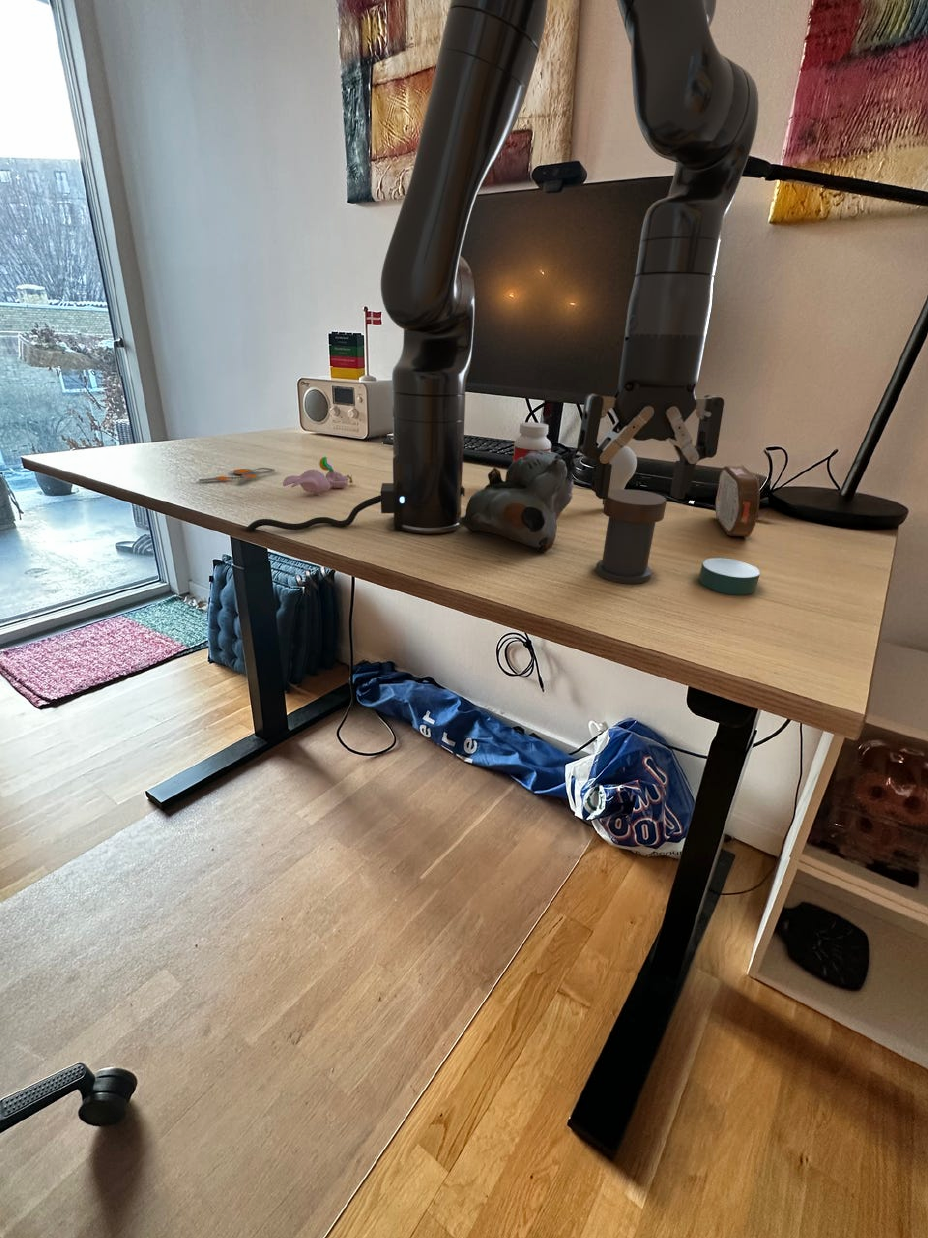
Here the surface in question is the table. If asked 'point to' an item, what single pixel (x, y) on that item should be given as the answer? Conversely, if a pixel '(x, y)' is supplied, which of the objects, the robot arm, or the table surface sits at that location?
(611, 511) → the walnut chip
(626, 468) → the light bulb
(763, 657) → the table surface
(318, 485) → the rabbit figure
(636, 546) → the upturned cup
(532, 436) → the pill bottle
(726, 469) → the tin
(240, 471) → the key chain
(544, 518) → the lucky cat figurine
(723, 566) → the teal chip
